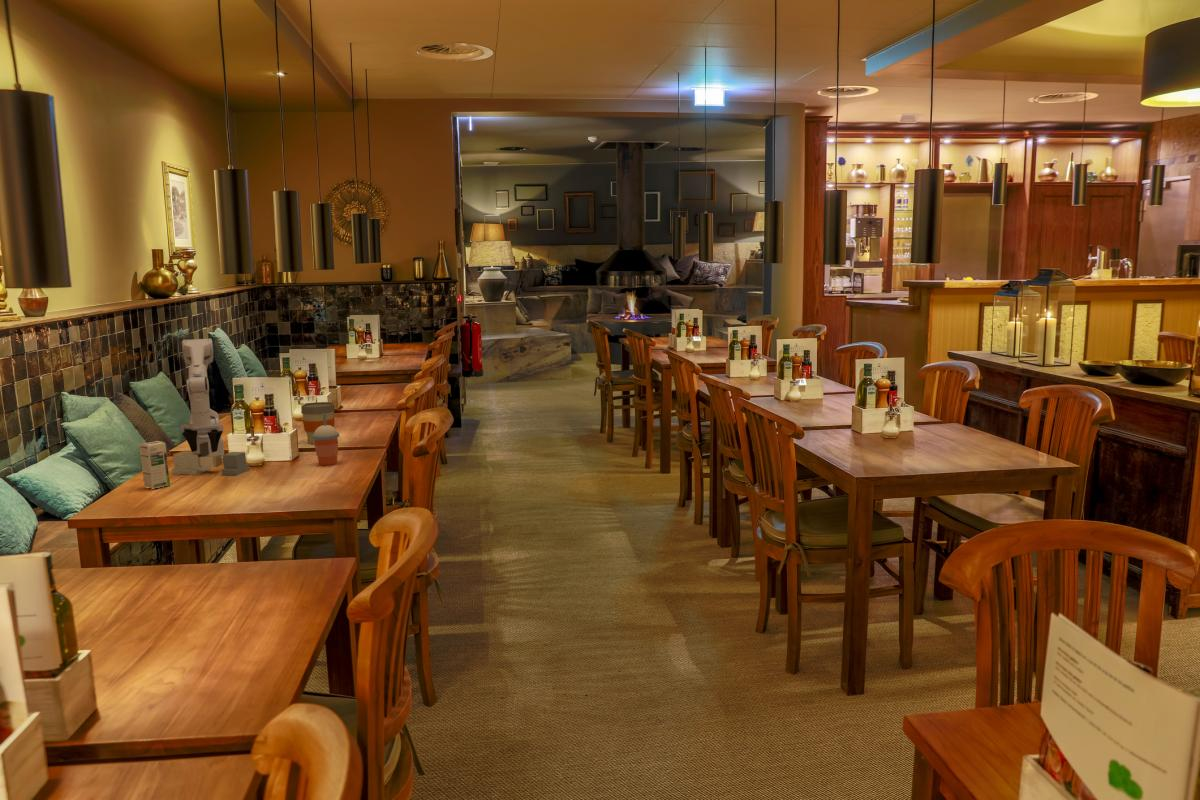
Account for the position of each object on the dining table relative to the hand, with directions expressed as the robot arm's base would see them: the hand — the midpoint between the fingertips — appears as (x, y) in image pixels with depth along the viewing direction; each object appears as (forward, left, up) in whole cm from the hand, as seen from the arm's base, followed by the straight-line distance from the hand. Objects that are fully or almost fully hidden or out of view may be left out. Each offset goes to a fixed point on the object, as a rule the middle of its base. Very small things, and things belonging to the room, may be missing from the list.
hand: (204, 451), depth 299 cm
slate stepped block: (0, +11, -7) cm, 13 cm away
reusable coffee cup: (-50, +16, -7) cm, 53 cm away
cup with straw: (-15, +37, -7) cm, 41 cm away
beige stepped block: (0, -5, -7) cm, 9 cm away
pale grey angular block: (0, -2, -5) cm, 5 cm away
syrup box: (+20, -4, -7) cm, 22 cm away
